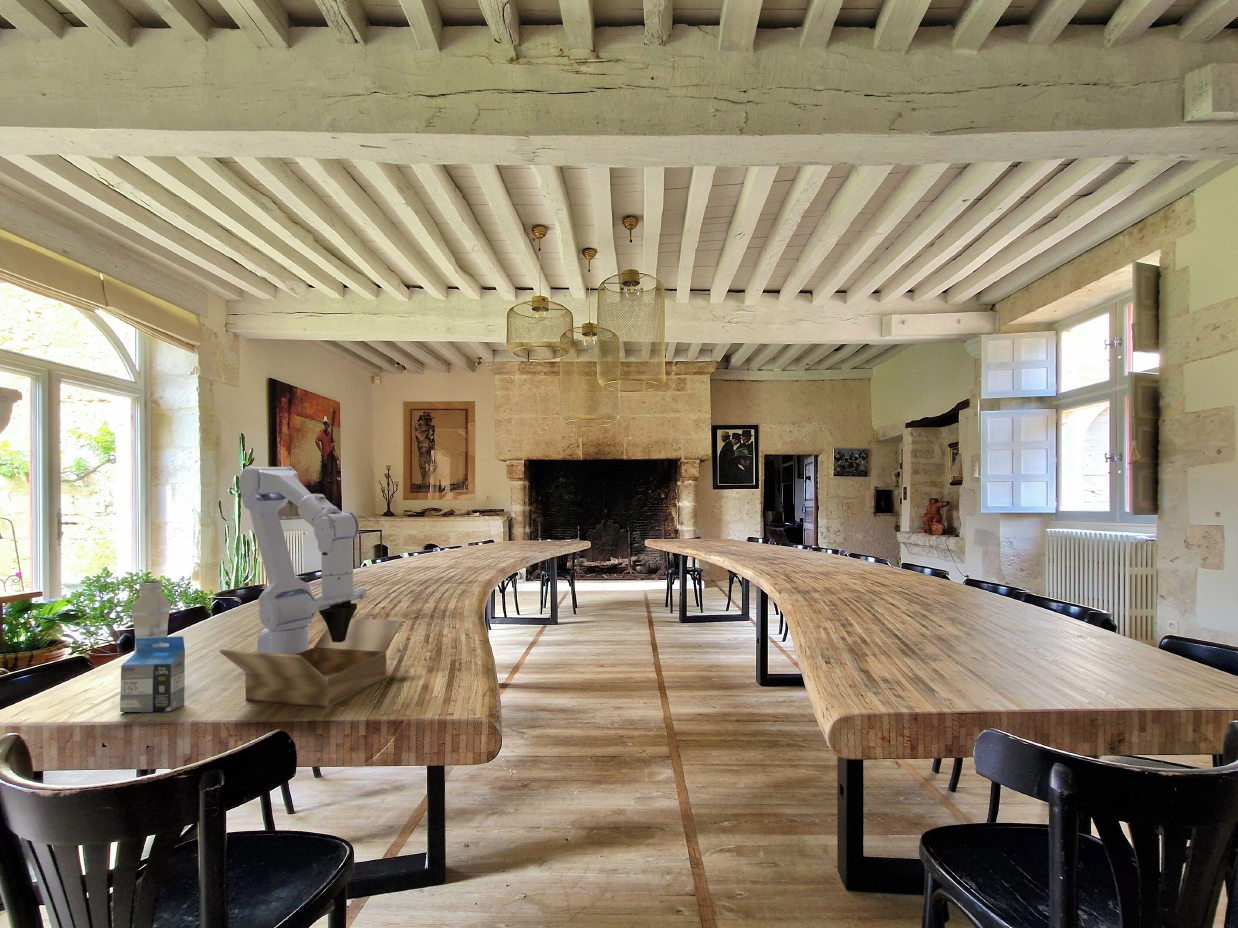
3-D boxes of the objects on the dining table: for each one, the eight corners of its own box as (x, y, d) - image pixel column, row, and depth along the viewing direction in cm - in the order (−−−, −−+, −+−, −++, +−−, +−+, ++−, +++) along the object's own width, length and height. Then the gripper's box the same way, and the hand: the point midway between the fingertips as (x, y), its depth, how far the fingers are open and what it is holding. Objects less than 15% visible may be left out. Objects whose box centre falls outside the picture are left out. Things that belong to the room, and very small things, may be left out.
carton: (245, 699, 109) (245, 672, 109) (313, 671, 124) (312, 647, 124) (327, 707, 104) (326, 678, 104) (386, 677, 119) (386, 652, 119)
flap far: (334, 617, 130) (335, 618, 130) (313, 647, 124) (314, 648, 124) (402, 620, 125) (402, 621, 125) (383, 651, 119) (384, 652, 120)
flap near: (248, 671, 109) (246, 673, 109) (220, 649, 104) (219, 651, 104) (325, 677, 104) (324, 679, 104) (300, 655, 99) (299, 657, 99)
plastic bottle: (132, 687, 117) (131, 585, 118) (130, 679, 122) (129, 582, 123) (173, 679, 122) (172, 581, 122) (169, 672, 127) (169, 578, 127)
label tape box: (118, 714, 104) (118, 643, 104) (136, 705, 108) (136, 637, 108) (170, 712, 104) (169, 641, 104) (186, 703, 108) (186, 635, 108)
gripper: (327, 579, 111) (328, 652, 111) (378, 567, 125) (379, 632, 125) (296, 579, 113) (297, 650, 113) (349, 567, 127) (351, 631, 127)
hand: (338, 641), depth 119 cm, fingers closed
